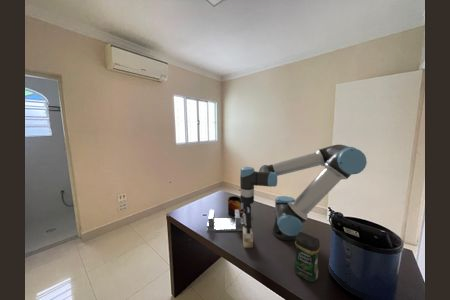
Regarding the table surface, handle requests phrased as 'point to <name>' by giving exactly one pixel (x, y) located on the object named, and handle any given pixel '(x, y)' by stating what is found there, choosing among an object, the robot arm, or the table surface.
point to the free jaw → (238, 219)
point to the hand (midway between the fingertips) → (246, 230)
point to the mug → (234, 205)
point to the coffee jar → (307, 256)
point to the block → (247, 239)
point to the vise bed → (221, 223)
